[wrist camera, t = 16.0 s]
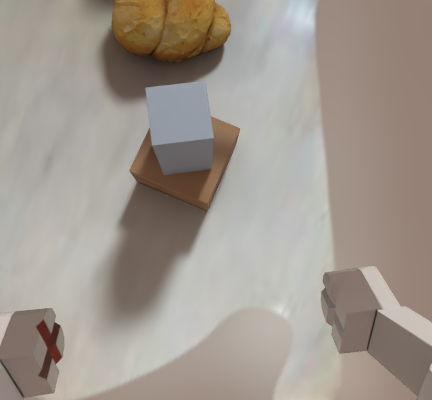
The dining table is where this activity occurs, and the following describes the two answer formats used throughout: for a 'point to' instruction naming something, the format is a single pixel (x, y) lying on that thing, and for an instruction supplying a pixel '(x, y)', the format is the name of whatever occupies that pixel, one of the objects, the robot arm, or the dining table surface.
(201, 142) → the slate block
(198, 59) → the dining table surface
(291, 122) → the dining table surface
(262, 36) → the dining table surface
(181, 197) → the walnut block
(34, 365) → the robot arm
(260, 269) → the dining table surface
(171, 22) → the bread roll
